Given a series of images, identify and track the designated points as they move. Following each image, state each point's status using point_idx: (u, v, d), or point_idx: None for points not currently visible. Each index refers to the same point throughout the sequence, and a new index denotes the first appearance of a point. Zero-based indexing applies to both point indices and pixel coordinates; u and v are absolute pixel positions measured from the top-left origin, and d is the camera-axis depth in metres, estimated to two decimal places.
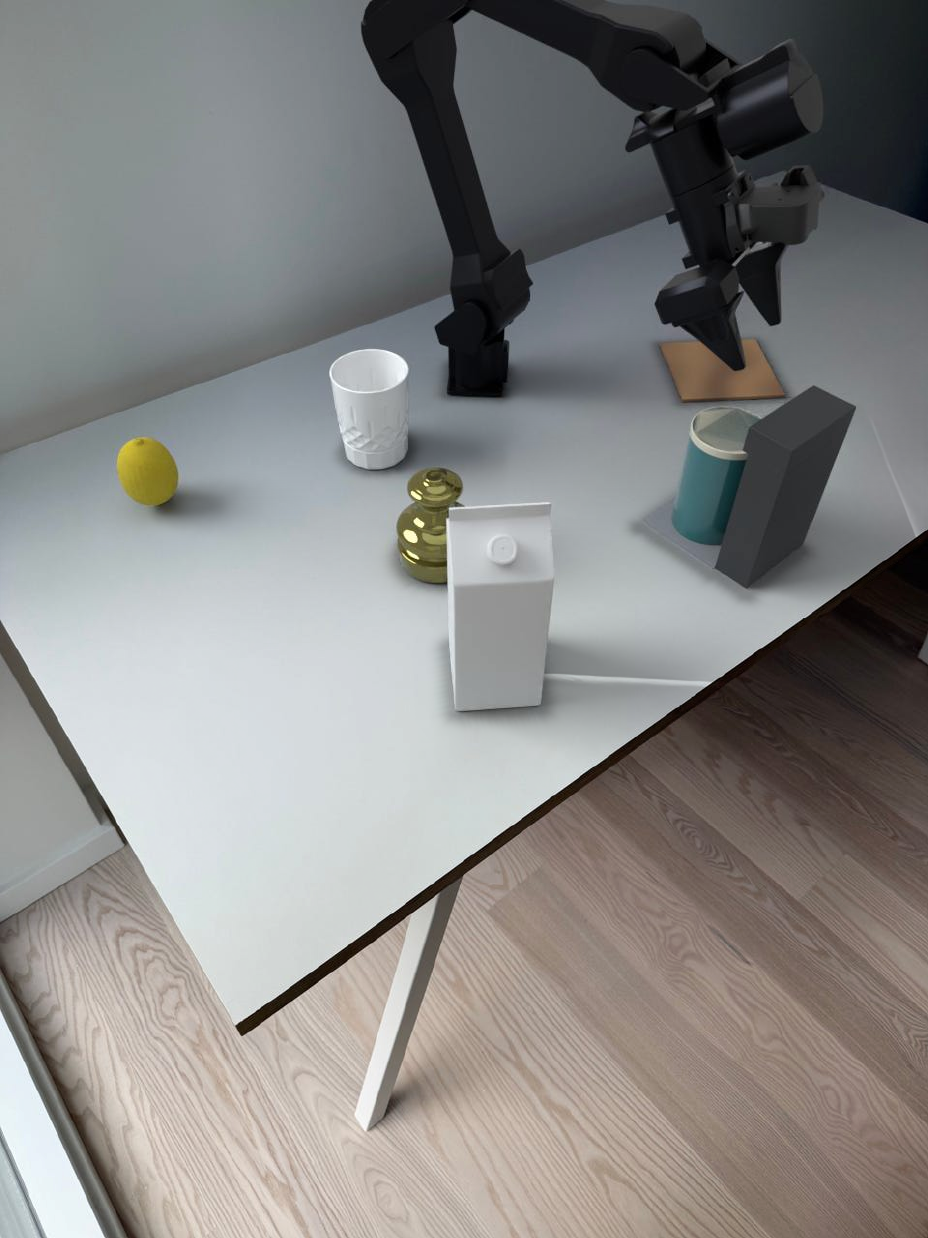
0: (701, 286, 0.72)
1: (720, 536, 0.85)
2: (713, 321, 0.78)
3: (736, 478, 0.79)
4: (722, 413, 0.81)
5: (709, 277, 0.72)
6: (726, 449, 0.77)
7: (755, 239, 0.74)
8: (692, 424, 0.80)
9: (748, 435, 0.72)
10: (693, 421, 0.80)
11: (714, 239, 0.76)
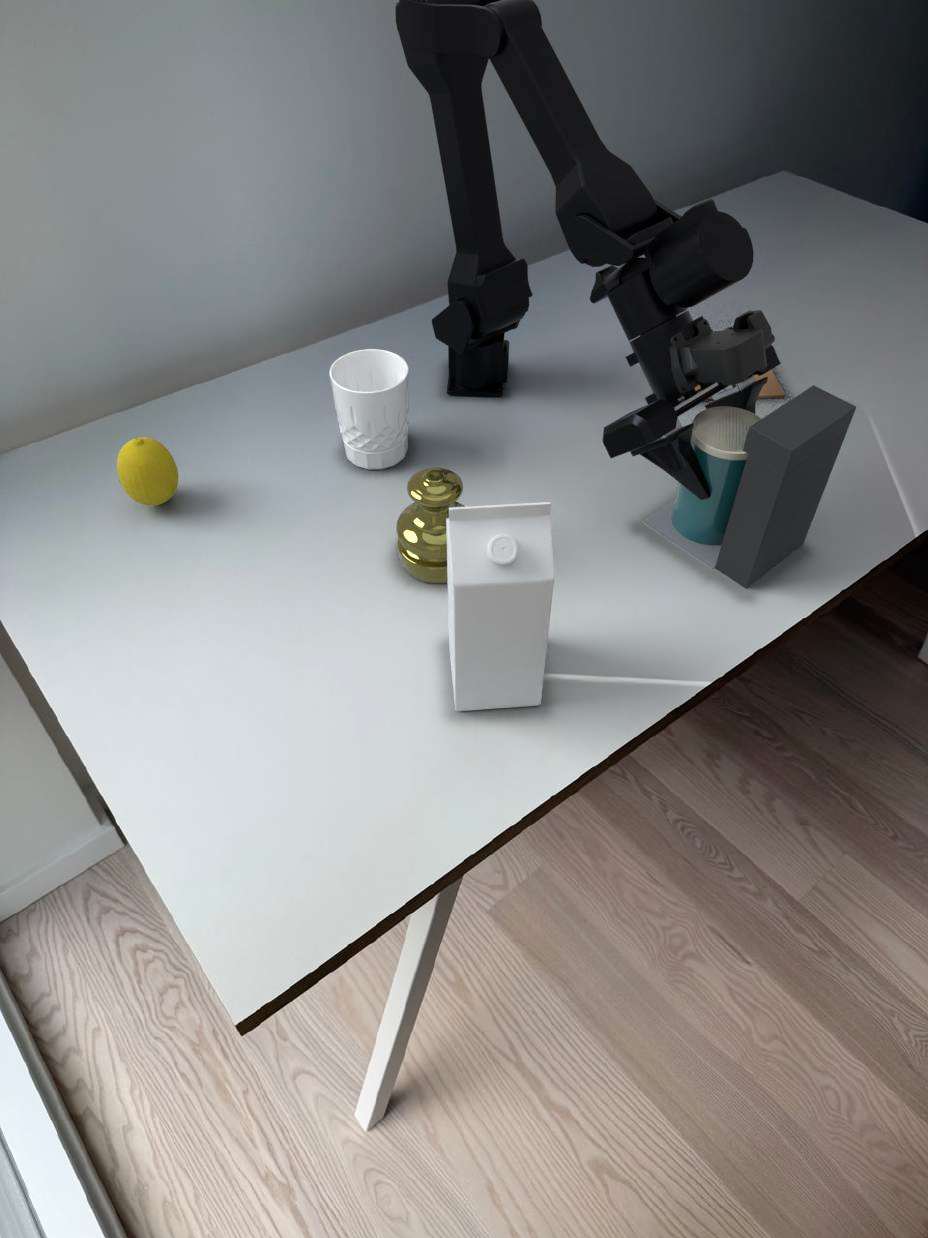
0: (631, 423, 0.75)
1: (720, 536, 0.85)
2: (671, 451, 0.80)
3: (736, 478, 0.79)
4: (722, 413, 0.81)
5: (637, 415, 0.75)
6: (726, 449, 0.77)
7: (699, 380, 0.76)
8: None
9: (748, 435, 0.72)
10: (693, 421, 0.80)
11: (665, 380, 0.79)
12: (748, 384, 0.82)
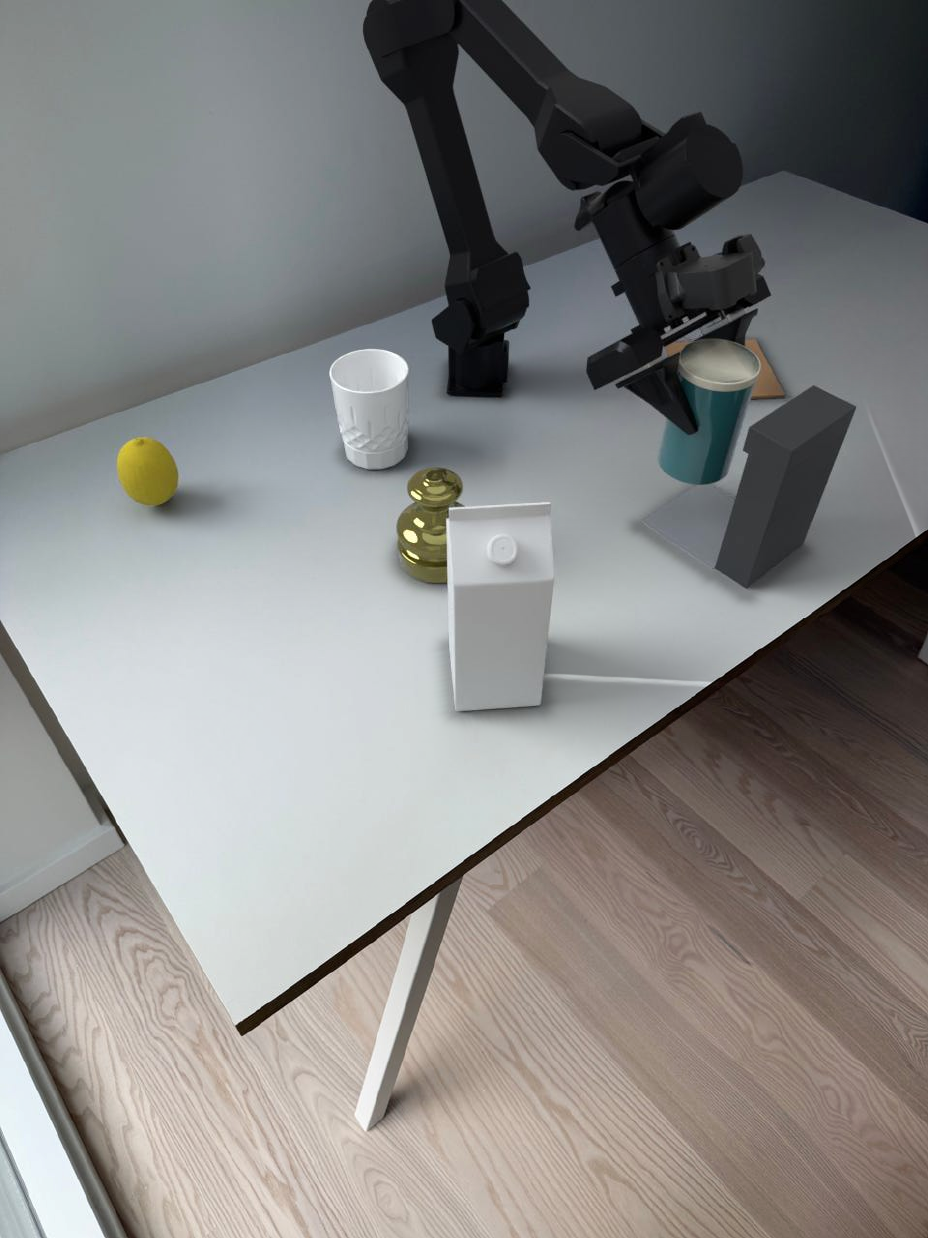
0: (615, 350, 0.72)
1: (707, 475, 0.82)
2: (657, 383, 0.77)
3: (724, 411, 0.77)
4: (711, 345, 0.78)
5: (622, 341, 0.72)
6: (714, 379, 0.75)
7: (686, 306, 0.73)
8: None
9: (748, 435, 0.72)
10: (680, 353, 0.77)
11: (651, 308, 0.76)
12: (737, 316, 0.80)
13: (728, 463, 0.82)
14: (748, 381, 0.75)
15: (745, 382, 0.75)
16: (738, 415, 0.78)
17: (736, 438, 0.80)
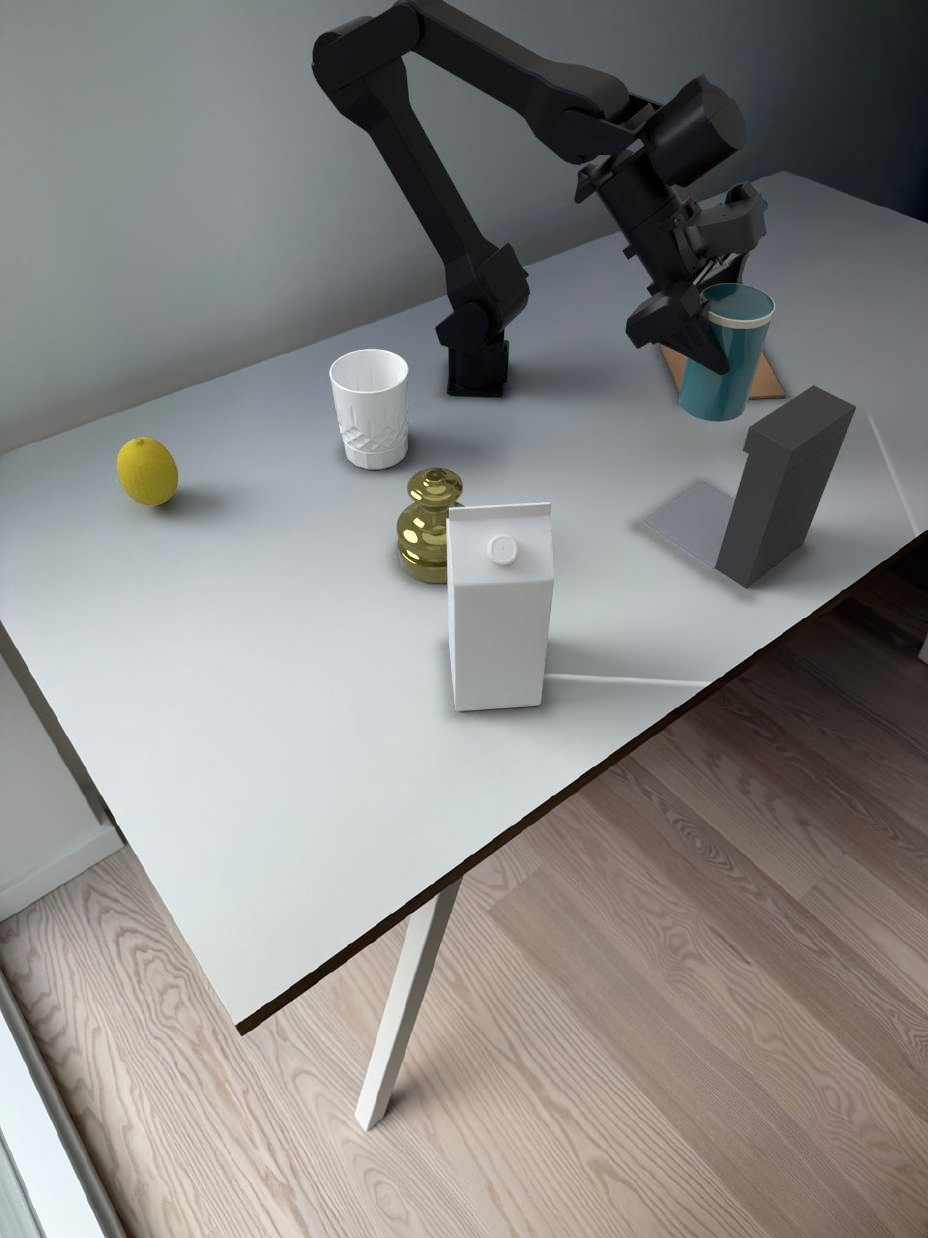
0: (663, 306, 0.77)
1: (735, 410, 0.88)
2: (689, 332, 0.82)
3: (752, 347, 0.83)
4: (721, 289, 0.84)
5: (668, 296, 0.76)
6: (743, 318, 0.81)
7: (709, 255, 0.79)
8: (701, 303, 0.82)
9: (748, 435, 0.72)
10: (701, 301, 0.83)
11: (671, 264, 0.81)
12: (732, 260, 0.86)
13: None
14: (771, 315, 0.81)
15: (769, 316, 0.81)
16: (761, 349, 0.84)
17: None
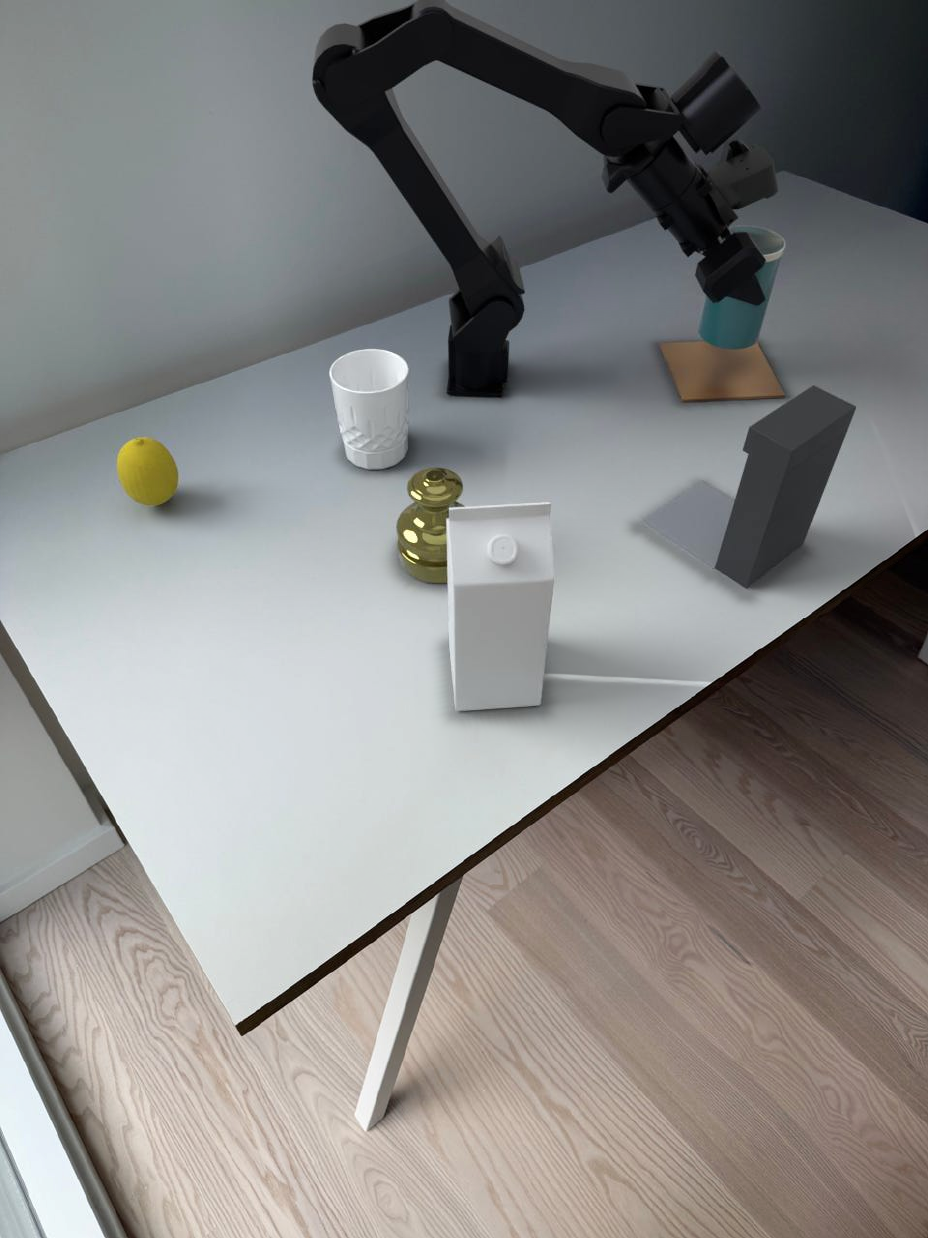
0: (745, 257, 0.86)
1: (759, 332, 1.01)
2: None
3: (775, 273, 0.96)
4: None
5: (746, 247, 0.86)
6: (773, 251, 0.93)
7: (741, 206, 0.89)
8: None
9: (748, 435, 0.72)
10: None
11: (709, 222, 0.90)
12: None
13: None
14: (784, 242, 0.95)
15: (784, 243, 0.94)
16: None
17: None
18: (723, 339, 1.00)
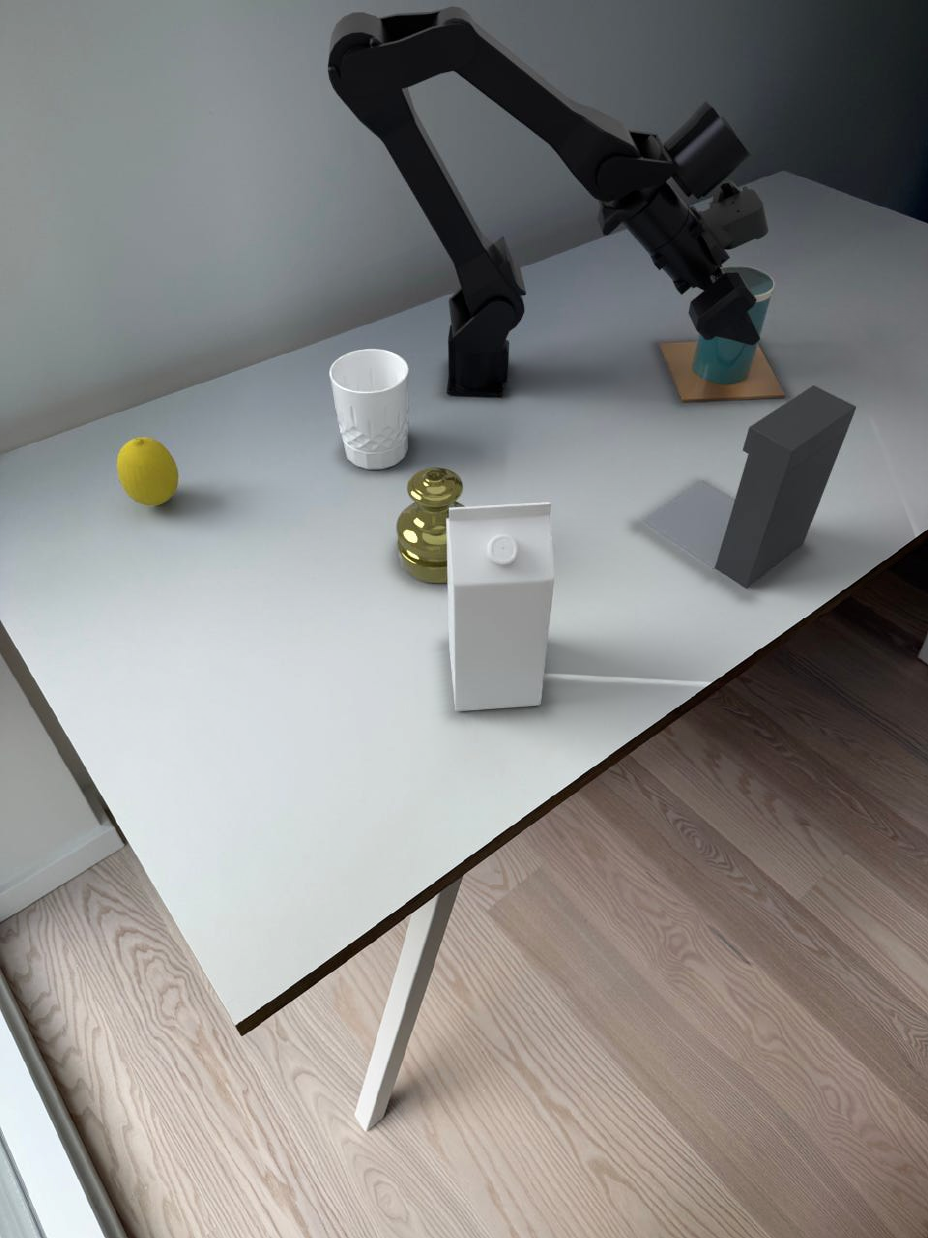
0: (736, 297, 0.89)
1: None
2: None
3: (766, 312, 0.99)
4: None
5: (737, 288, 0.89)
6: (763, 291, 0.96)
7: (733, 246, 0.93)
8: None
9: (748, 435, 0.72)
10: None
11: (701, 262, 0.93)
12: None
13: None
14: None
15: None
16: None
17: None
18: (716, 374, 1.03)
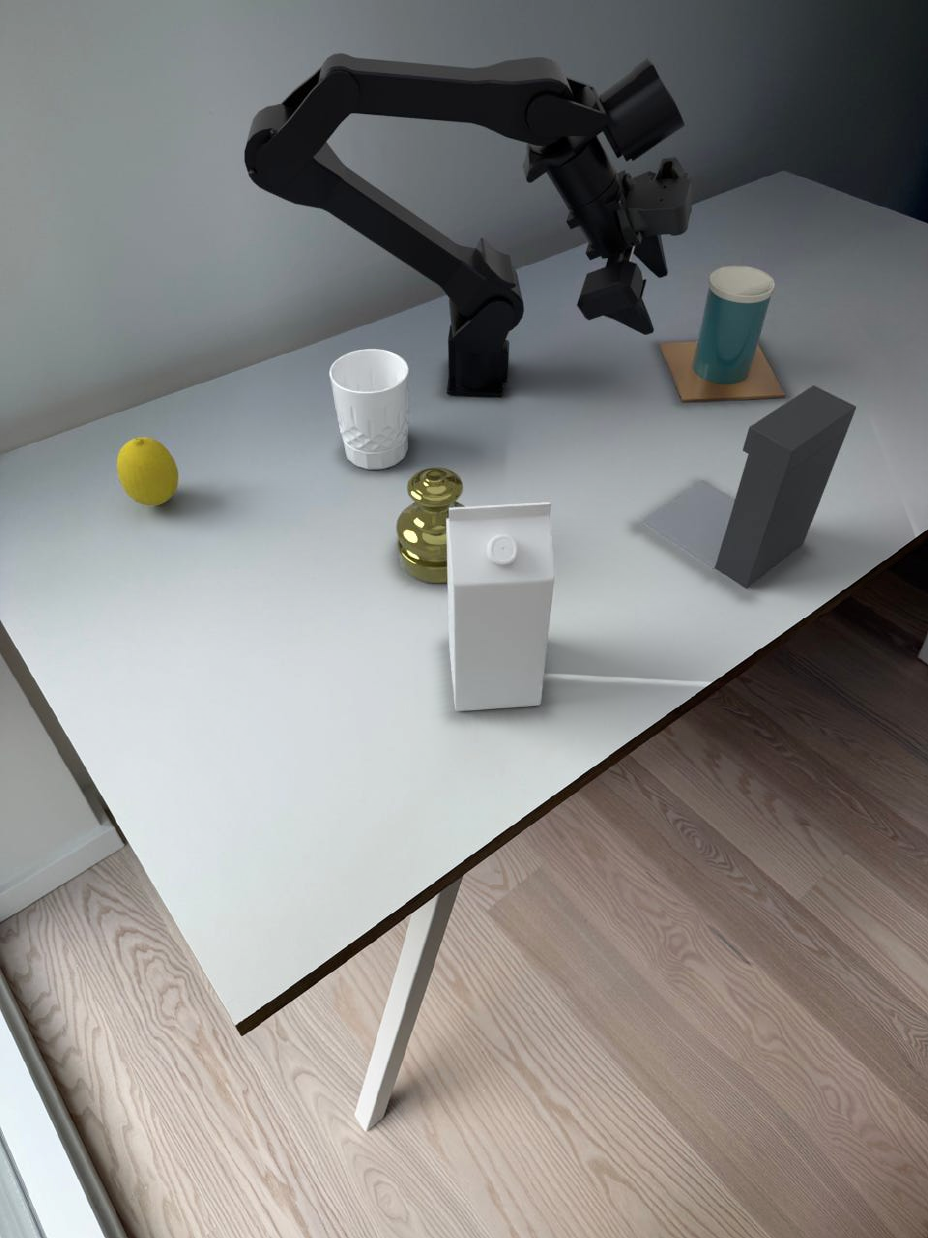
0: (616, 291, 0.88)
1: None
2: None
3: (766, 312, 0.99)
4: (721, 275, 0.99)
5: (621, 282, 0.88)
6: (763, 291, 0.96)
7: (646, 233, 0.89)
8: (723, 290, 0.97)
9: (748, 435, 0.72)
10: (720, 288, 0.97)
11: (612, 238, 0.90)
12: None
13: None
14: None
15: None
16: None
17: None
18: (716, 374, 1.03)
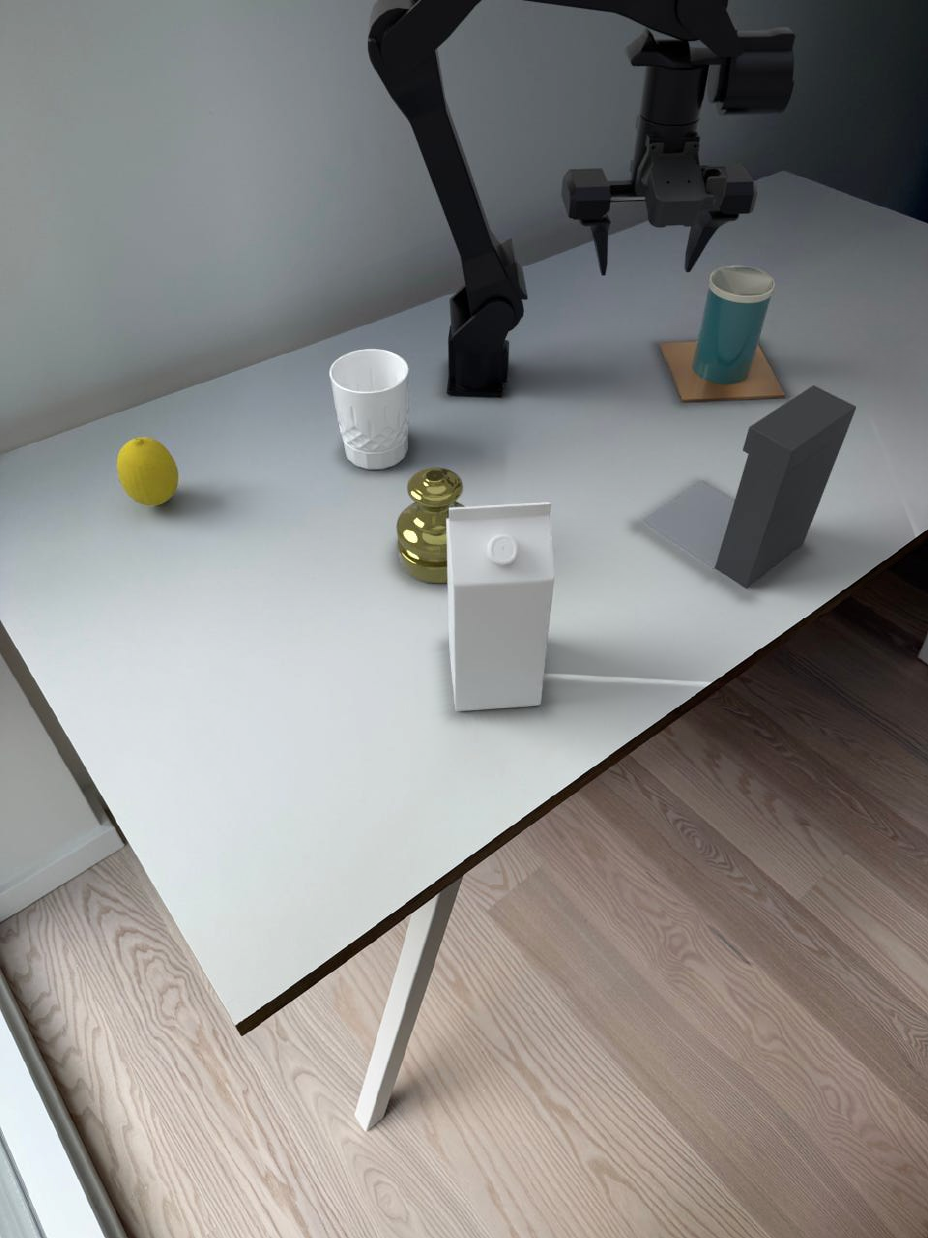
0: (569, 191, 0.87)
1: None
2: None
3: (766, 312, 0.99)
4: (721, 275, 0.99)
5: (576, 190, 0.87)
6: (763, 291, 0.96)
7: (644, 194, 0.86)
8: (723, 290, 0.97)
9: (748, 435, 0.72)
10: (720, 288, 0.97)
11: (636, 167, 0.87)
12: None
13: None
14: None
15: None
16: None
17: None
18: (716, 374, 1.03)
